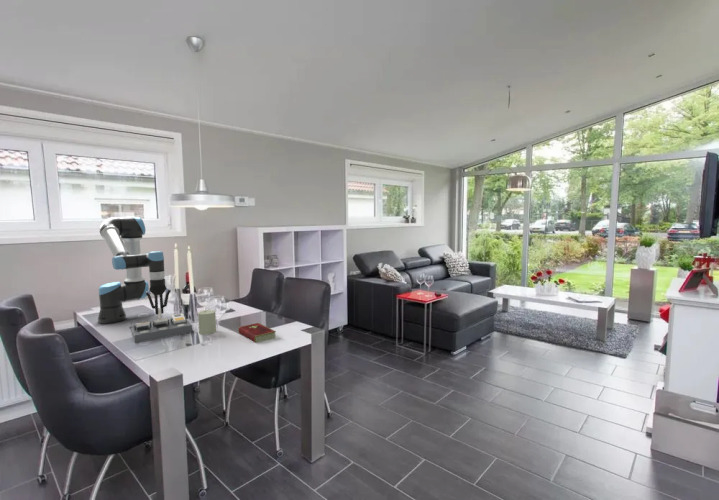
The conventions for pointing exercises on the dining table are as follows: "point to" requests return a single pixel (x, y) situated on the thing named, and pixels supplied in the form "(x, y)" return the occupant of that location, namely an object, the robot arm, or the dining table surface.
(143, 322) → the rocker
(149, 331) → the rocker switch panel
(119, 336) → the dining table surface
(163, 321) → the rocker middle
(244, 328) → the hardcover book
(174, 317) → the rocker
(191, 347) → the dining table surface
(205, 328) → the can
